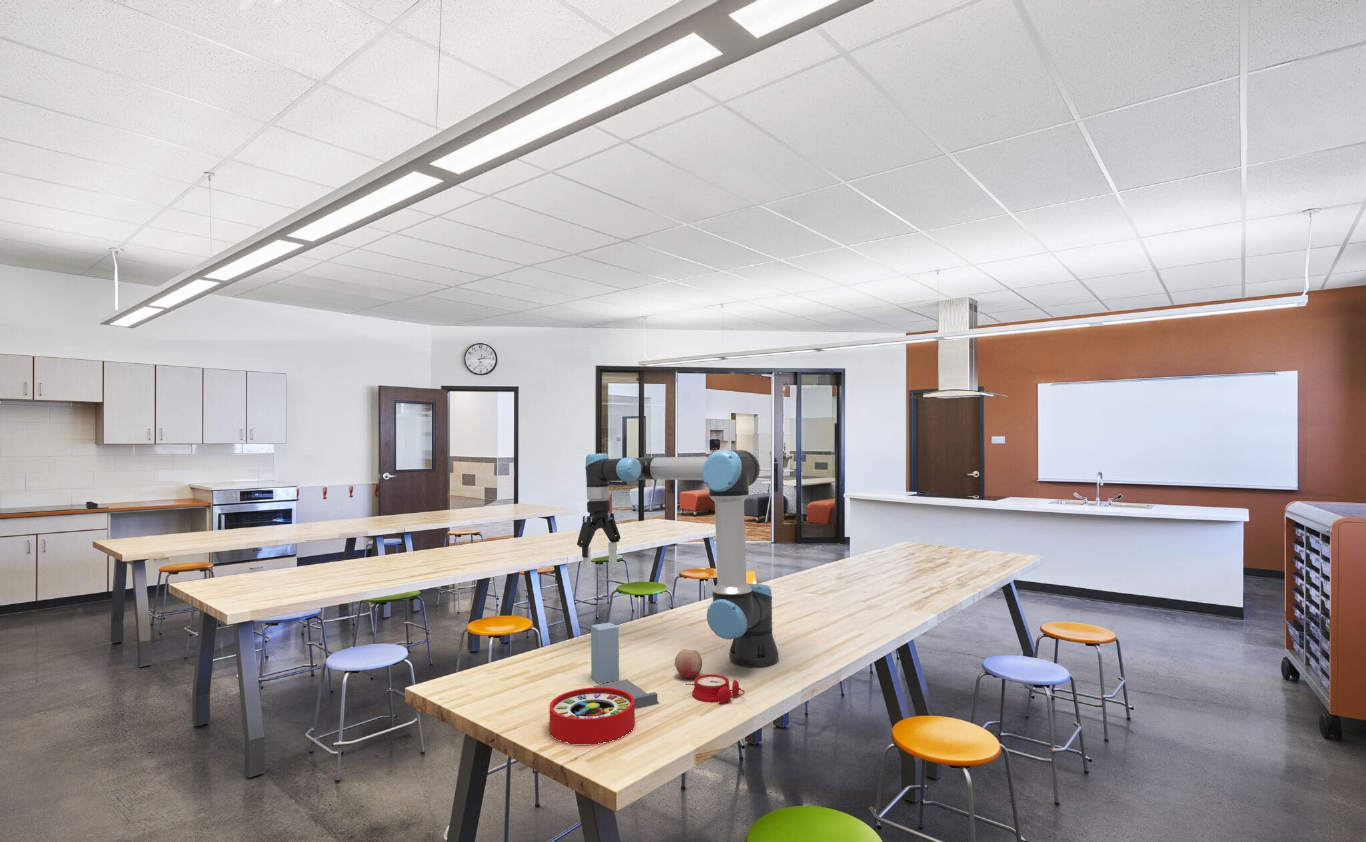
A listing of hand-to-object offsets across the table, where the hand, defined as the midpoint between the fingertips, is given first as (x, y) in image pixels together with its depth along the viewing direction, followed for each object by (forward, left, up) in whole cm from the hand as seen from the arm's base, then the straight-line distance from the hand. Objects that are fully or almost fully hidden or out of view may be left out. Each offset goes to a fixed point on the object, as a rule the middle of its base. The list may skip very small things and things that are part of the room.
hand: (600, 564), depth 217 cm
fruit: (-39, +9, -28) cm, 48 cm away
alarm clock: (-53, +18, -28) cm, 62 cm away
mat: (-31, +29, -28) cm, 50 cm away
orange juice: (-29, -49, -28) cm, 63 cm away
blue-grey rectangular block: (-19, +22, -28) cm, 40 cm away
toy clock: (-36, +49, -28) cm, 67 cm away
